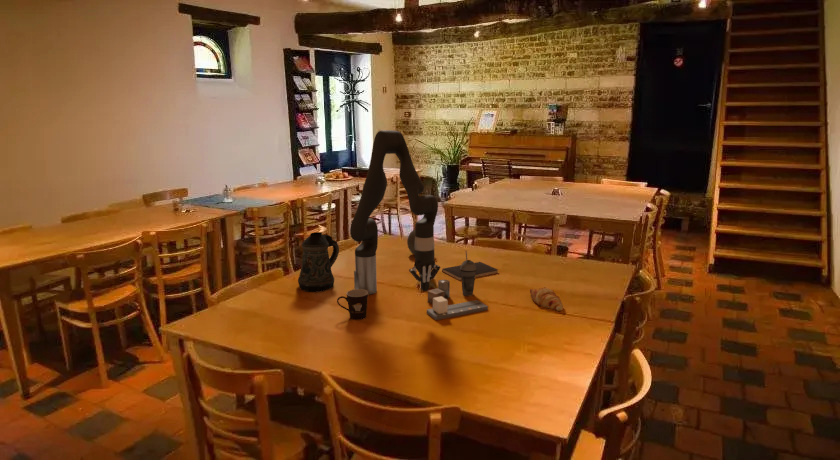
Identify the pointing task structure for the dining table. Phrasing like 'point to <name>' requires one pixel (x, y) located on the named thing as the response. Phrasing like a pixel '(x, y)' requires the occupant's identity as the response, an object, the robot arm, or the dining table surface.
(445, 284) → the metal canister
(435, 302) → the knob
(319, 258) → the beer stein
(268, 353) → the dining table surface
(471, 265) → the beverage cup
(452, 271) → the hardcover book
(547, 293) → the croissant
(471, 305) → the board
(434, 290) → the walnut block
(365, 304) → the coffee mug
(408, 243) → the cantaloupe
